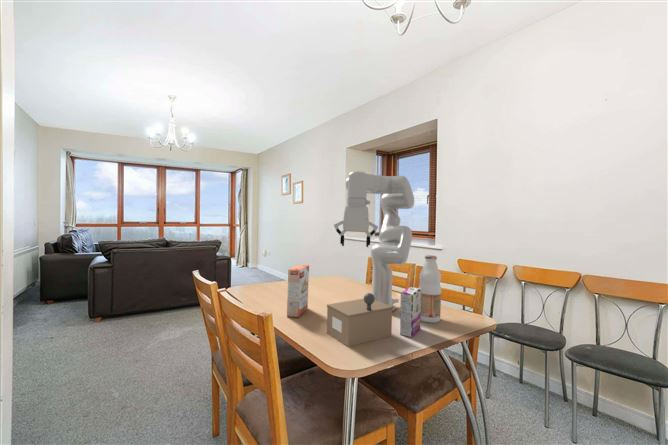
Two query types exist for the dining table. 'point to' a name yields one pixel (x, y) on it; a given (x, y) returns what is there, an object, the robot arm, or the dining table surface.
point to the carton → (359, 326)
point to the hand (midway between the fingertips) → (355, 246)
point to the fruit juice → (430, 290)
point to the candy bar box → (410, 311)
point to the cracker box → (297, 290)
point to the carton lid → (359, 306)
